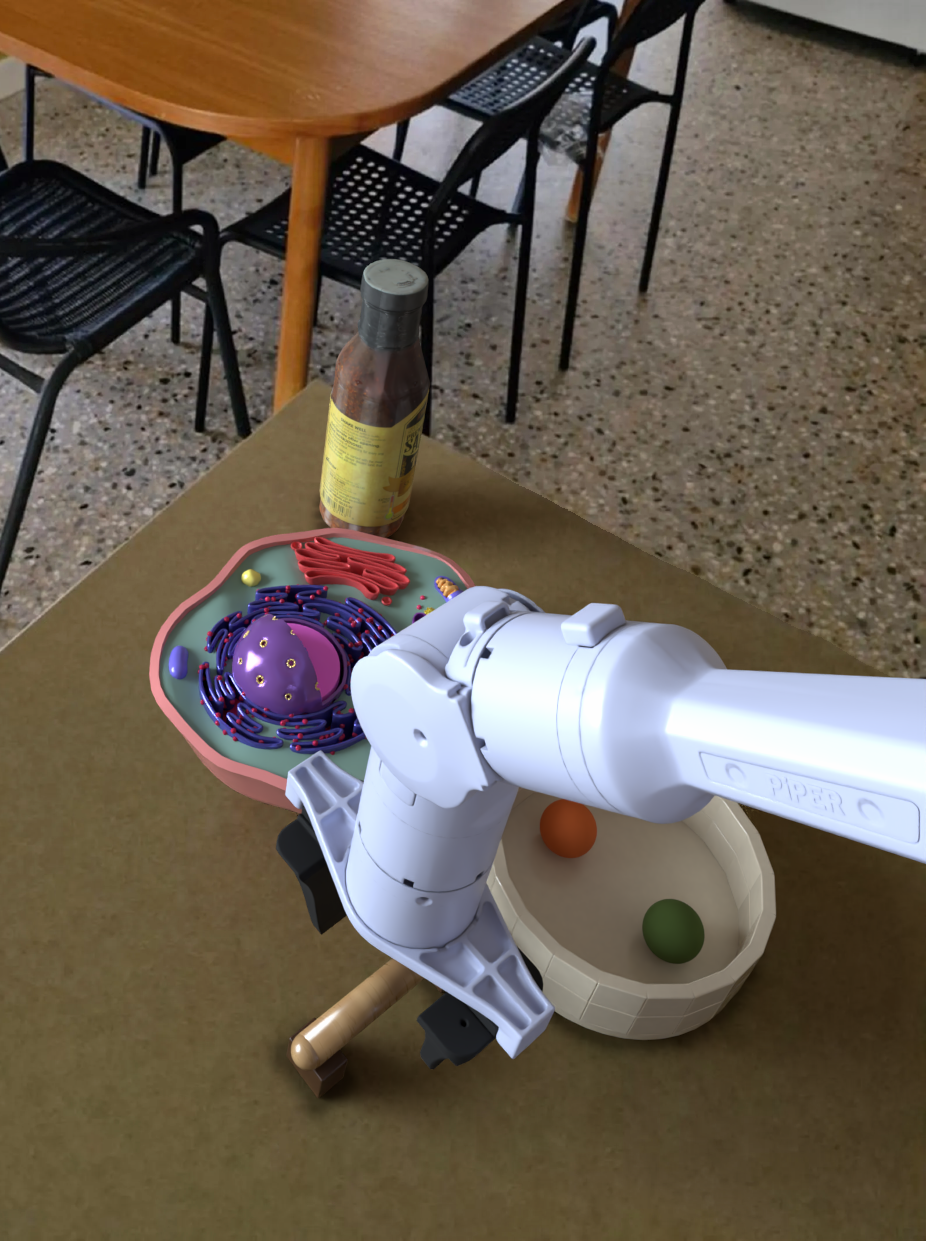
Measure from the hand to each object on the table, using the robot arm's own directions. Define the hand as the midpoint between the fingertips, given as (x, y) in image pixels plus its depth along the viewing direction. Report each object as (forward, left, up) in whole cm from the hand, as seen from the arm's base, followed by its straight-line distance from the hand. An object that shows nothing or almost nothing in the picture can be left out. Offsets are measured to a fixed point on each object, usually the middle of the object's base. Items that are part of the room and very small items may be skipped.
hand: (385, 981), depth 59 cm
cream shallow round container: (-3, -14, -3) cm, 15 cm away
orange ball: (0, -14, -1) cm, 14 cm away
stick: (0, 0, -1) cm, 1 cm away
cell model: (+14, -8, -4) cm, 16 cm away
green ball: (-7, -14, -1) cm, 15 cm away
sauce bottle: (+26, -22, -3) cm, 34 cm away
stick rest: (0, 0, -3) cm, 3 cm away
